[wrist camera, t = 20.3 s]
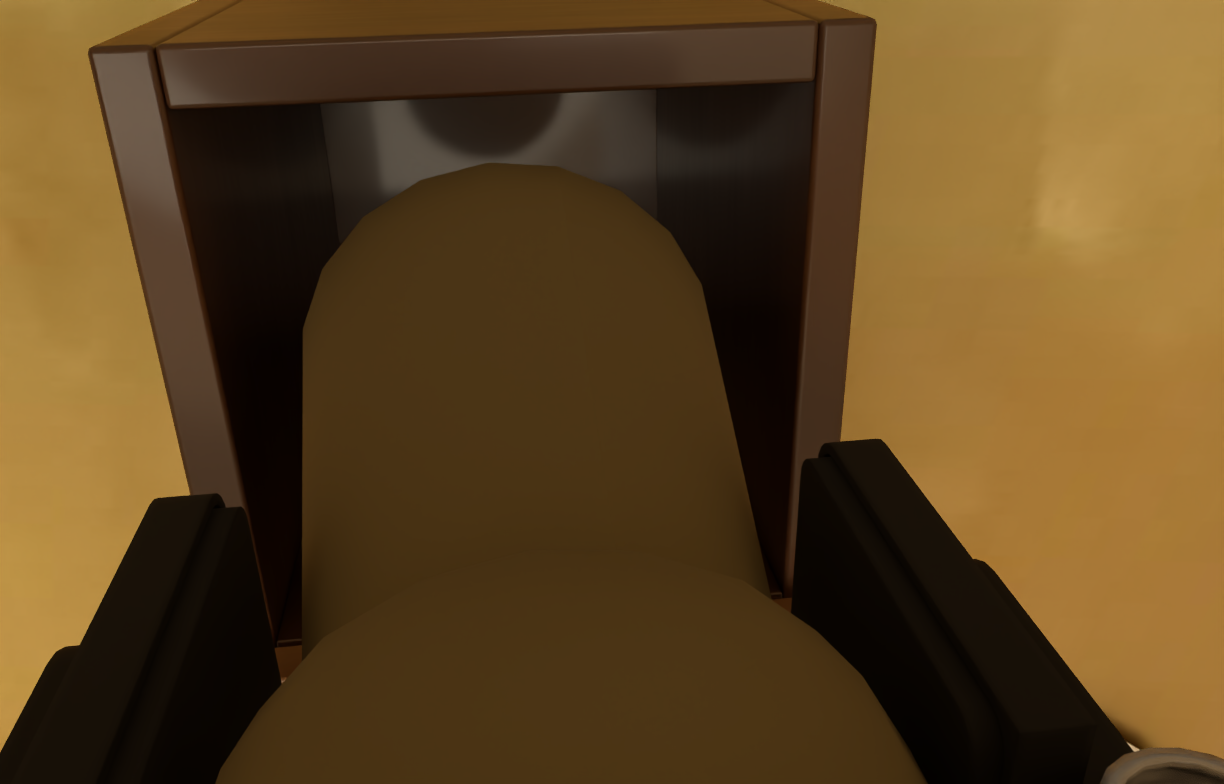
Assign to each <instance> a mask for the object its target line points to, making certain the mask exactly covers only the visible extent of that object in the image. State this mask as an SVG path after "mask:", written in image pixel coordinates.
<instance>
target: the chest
mask: <svg viewBox="0 0 1224 784" xmlns="http://www.w3.org/2000/svg"><path fill="white" fill-rule="evenodd" d="M876 27H877V24H876V21H875V19H873V18H871V17H868V16H865V15H861V14H858V13H855V12H852V11H849V10H846V9H843V8H840V7H837V6H834V5H831V4H828V3H825V2H821V1H818V0H199V1H196V2H194V3H192V4H189V5H187V6H185V7H183V8H180V9H178V10H176V11H173V12H171V13H169V14H166V15H164V16H162V17H160V18H157V19H155V20H153V21H150V22H148V23H146V24H143V25H141V26H139V27H137V28H134V29H132V30H130V31H127V32H125V33H123V34H121V35H118V36H116V37H114V38H111V39H109V40H107V41H104V42H102V43H100V44H98V45H95V46H93V47H91V48H89V51H88V56H89V61H90V65H91V69H92V74H93V78H94V82H95V87H96V91H97V95H98V99H99V104H100V108H101V112H102V117H103V121H104V125H105V130H106V134H107V138H108V142H109V147H110V151H111V155H112V160H113V164H114V168H115V173H116V177H117V181H118V185H119V190H120V194H121V198H122V203H123V207H124V211H125V216H126V220H127V224H128V228H129V233H130V237H131V241H132V246H133V250H134V254H135V259H136V263H137V267H138V272H139V276H140V280H141V284H142V289H143V293H144V297H145V302H146V306H147V310H148V315H149V319H150V323H151V327H152V332H153V336H154V340H155V345H156V349H157V353H158V358H159V362H160V366H161V370H162V375H163V379H164V383H165V388H166V392H167V396H168V401H169V405H170V409H171V413H172V418H173V422H174V426H175V431H176V435H177V439H178V444H179V448H180V452H181V456H182V461H183V465H184V469H185V474H186V478H187V482H188V487H189V491H190V495H201V494H213V493H218V494H219V495H220V496H221V497H222V499H223V501H224V503H225V506H226V508H228V507H240V506H241V507H242V508H243V509H244V510H245V512H246V515H247V519H248V523H249V527H250V532H251V537H252V542H253V547H254V552H255V556H256V561H257V566H258V571H259V576H260V581H261V585H262V590H263V595H264V600H265V605H266V609H267V614H268V619H269V624H270V629H271V634H272V638H273V643H274V648H278V647H288V646H299V645H302V448H303V327H304V323H305V320H306V317H307V314H308V311H309V308H310V305H311V302H312V299H313V296H314V293H315V290H316V287H317V284H318V281H319V277H320V274H321V271H322V269H323V267H324V266H325V265H326V264H327V262H328V261H329V260H330V258H331V257H332V256H333V255H334V253H335V252H336V251H337V249H338V248H339V247H340V246H341V244H342V243H343V242H344V241H345V239H346V238H347V237H348V235H349V234H350V233H351V232H352V230H353V229H354V228H355V226H356V225H357V224H358V223H359V221H360V220H361V219H362V218H363V217H364V216H365V215H367V214H368V213H370V212H372V211H373V210H375V209H376V208H378V207H379V206H381V205H382V204H384V203H386V202H387V201H389V200H390V199H392V198H393V197H395V196H396V195H398V194H399V193H401V192H403V191H404V190H406V189H407V188H409V187H410V186H412V185H413V184H415V183H417V182H418V181H420V180H422V179H426V178H430V177H434V176H438V175H442V174H445V173H449V172H453V171H457V170H461V169H465V168H469V167H472V166H476V165H480V164H484V163H488V162H491V163H508V164H525V165H543V166H558V167H561V168H563V169H566V170H569V171H571V172H574V173H576V174H579V175H581V176H584V177H587V178H589V179H592V180H594V181H597V182H599V183H602V184H604V185H607V186H610V187H612V188H615V189H617V190H620V191H622V192H623V193H624V194H625V195H626V196H628V197H629V198H630V199H631V200H632V201H634V202H635V203H636V204H637V205H638V206H640V207H641V208H642V209H643V210H644V211H646V212H647V213H648V214H649V215H650V216H652V217H653V218H654V219H655V220H656V221H658V222H659V223H660V224H661V225H662V226H664V227H665V228H666V229H667V230H668V231H670V232H671V234H672V236H673V237H674V239H675V241H676V242H677V244H678V246H679V247H680V249H681V251H682V252H683V254H684V256H685V257H686V259H687V261H688V262H689V264H690V266H691V267H692V269H693V271H694V273H695V274H696V276H697V278H698V279H699V281H700V283H701V284H702V288H703V293H704V297H705V302H706V306H707V311H708V315H709V320H710V324H711V329H712V333H713V338H714V342H715V347H716V351H717V356H718V360H719V365H720V369H721V374H722V378H723V383H724V387H725V392H726V396H727V401H728V405H729V410H730V414H731V419H732V423H733V428H734V432H735V437H736V441H737V446H738V450H739V455H740V459H741V464H742V468H743V473H744V477H745V482H746V486H747V491H748V495H749V500H750V504H751V509H752V513H753V518H754V522H755V527H756V531H757V536H758V540H759V545H760V549H761V554H762V558H763V563H764V567H765V572H766V576H767V581H768V585H769V590H770V594H771V599H782V598H792V589H793V575H794V560H795V546H796V532H797V518H798V504H799V490H800V475H801V468H802V464H803V461H804V460H805V459H810V458H818V454H819V451H820V448H821V446H822V445H823V444H824V443H831V442H840V438H841V426H842V415H843V403H844V392H845V381H846V369H847V358H848V346H849V335H850V324H851V312H852V301H853V289H854V278H855V267H856V255H857V244H858V232H859V221H860V210H861V198H862V187H863V175H864V164H865V153H866V141H867V130H868V118H869V107H870V96H871V84H872V73H873V61H874V50H875V39H876Z"/></svg>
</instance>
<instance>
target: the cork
mask: <svg viewBox="0 0 1224 784" xmlns="http://www.w3.org/2000/svg"><path fill="white" fill-rule="evenodd" d="M215 784H928V782H927V780H926V779H925V777H924V775H923V773H922V771H921V769H920V768H919V766H918V764H917V762H916V760H915V758H914V757H913V755H912V753H911V751H910V749H909V747H908V746H907V744H906V743H905V741H904V740H903V738H902V737H901V735H900V733H899V732H898V730H897V729H896V727H895V726H894V724H893V723H892V721H891V720H890V718H889V716H888V715H887V713H886V712H885V710H884V709H883V707H882V706H881V704H880V703H879V701H878V699H877V698H876V696H875V695H874V693H873V692H872V690H871V689H870V687H869V686H868V684H867V682H866V681H865V679H864V678H863V676H862V675H861V674H860V673H859V672H858V671H857V670H856V669H855V668H854V667H853V666H852V665H851V664H850V663H849V662H848V661H847V660H846V659H845V658H844V657H843V656H842V655H841V654H840V653H839V652H838V651H837V650H836V649H835V648H834V647H833V646H831V645H830V644H829V643H828V642H827V641H826V640H825V639H824V638H823V637H822V636H821V635H820V634H819V633H818V632H817V631H816V630H815V629H813V628H812V627H810V626H809V625H807V624H806V623H804V622H803V621H802V620H800V619H799V618H797V617H796V616H794V615H793V614H791V613H790V612H788V611H787V610H785V609H784V608H783V607H781V606H780V605H778V604H777V603H775V602H774V601H772V599H771V594H770V590H769V585H768V581H767V576H766V572H765V567H764V563H763V558H762V554H761V549H760V545H759V540H758V536H757V531H756V527H755V522H754V518H753V513H752V509H751V504H750V500H749V495H748V491H747V486H746V482H745V477H744V473H743V468H742V464H741V459H740V455H739V450H738V446H737V441H736V437H735V432H734V428H733V423H732V419H731V414H730V410H729V405H728V401H727V396H726V392H725V387H724V383H723V378H722V374H721V369H720V365H719V360H718V356H717V351H716V347H715V342H714V338H713V333H712V329H711V324H710V320H709V315H708V311H707V306H706V302H705V297H704V293H703V288H702V284H701V283H700V281H699V279H698V278H697V276H696V274H695V273H694V271H693V269H692V267H691V266H690V264H689V262H688V261H687V259H686V257H685V256H684V254H683V252H682V251H681V249H680V247H679V246H678V244H677V242H676V241H675V239H674V237H673V236H672V234H671V232H670V231H668V230H667V229H666V228H665V227H664V226H662V225H661V224H660V223H659V222H658V221H656V220H655V219H654V218H653V217H652V216H650V215H649V214H648V213H647V212H646V211H644V210H643V209H642V208H641V207H640V206H638V205H637V204H636V203H635V202H634V201H632V200H631V199H630V198H629V197H628V196H626V195H625V194H624V193H623V192H622V191H620V190H617V189H615V188H612V187H610V186H607V185H604V184H602V183H599V182H597V181H594V180H592V179H589V178H587V177H584V176H581V175H579V174H576V173H574V172H571V171H569V170H566V169H563V168H561V167H558V166H543V165H525V164H508V163H491V162H488V163H484V164H480V165H476V166H472V167H469V168H465V169H461V170H457V171H453V172H449V173H445V174H442V175H438V176H434V177H430V178H426V179H422V180H420V181H418V182H417V183H415V184H413V185H412V186H410V187H409V188H407V189H406V190H404V191H403V192H401V193H399V194H398V195H396V196H395V197H393V198H392V199H390V200H389V201H387V202H386V203H384V204H382V205H381V206H379V207H378V208H376V209H375V210H373V211H372V212H370V213H368V214H367V215H365V216H364V217H363V218H362V219H361V220H360V221H359V223H358V224H357V225H356V226H355V228H354V229H353V230H352V232H351V233H350V234H349V235H348V237H347V238H346V239H345V241H344V242H343V243H342V244H341V246H340V247H339V248H338V249H337V251H336V252H335V253H334V255H333V256H332V257H331V258H330V260H329V261H328V262H327V264H326V265H325V266H324V267H323V269H322V271H321V274H320V277H319V281H318V284H317V287H316V290H315V293H314V296H313V299H312V302H311V305H310V308H309V311H308V314H307V317H306V320H305V323H304V327H303V448H302V662H301V663H300V664H299V665H298V667H297V668H296V669H295V670H294V671H293V672H292V673H291V674H290V676H289V677H288V678H287V679H286V680H285V681H284V682H283V683H282V685H281V686H280V687H279V688H278V689H277V690H276V691H275V692H274V694H273V695H272V696H271V697H270V698H269V699H268V700H267V701H266V702H265V704H264V705H263V706H262V707H261V708H260V709H259V711H258V712H257V714H256V715H255V717H254V718H253V720H252V721H251V723H250V724H249V726H248V727H247V729H246V730H245V732H244V734H243V735H242V737H241V738H240V740H239V741H238V743H237V744H236V746H235V747H234V749H233V750H232V752H231V753H230V755H229V757H228V758H227V760H226V761H225V763H224V764H223V766H222V767H221V769H220V771H219V774H218V777H217V780H216V783H215Z"/></svg>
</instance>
